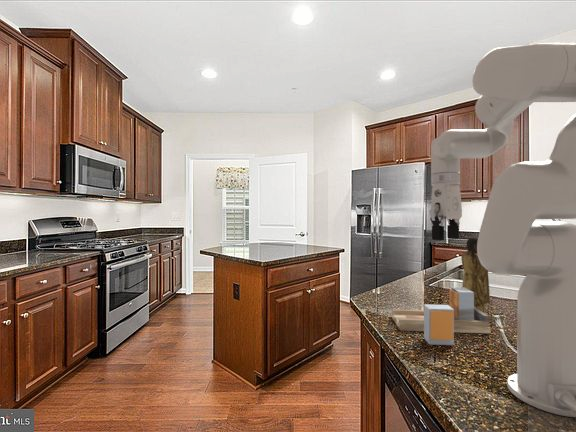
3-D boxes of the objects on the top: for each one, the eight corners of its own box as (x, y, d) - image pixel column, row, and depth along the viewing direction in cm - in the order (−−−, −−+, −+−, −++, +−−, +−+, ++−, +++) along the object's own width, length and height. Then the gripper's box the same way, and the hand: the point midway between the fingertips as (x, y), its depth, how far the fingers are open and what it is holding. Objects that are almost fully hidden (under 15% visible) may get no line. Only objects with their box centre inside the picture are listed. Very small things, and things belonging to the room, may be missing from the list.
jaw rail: (490, 333, 88) (490, 295, 88) (400, 330, 91) (400, 293, 91) (470, 319, 100) (470, 285, 100) (391, 316, 103) (391, 284, 103)
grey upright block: (429, 345, 81) (429, 309, 81) (424, 338, 85) (424, 304, 85) (454, 346, 80) (454, 310, 80) (447, 338, 85) (447, 304, 85)
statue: (493, 318, 100) (493, 238, 100) (460, 313, 105) (460, 237, 105) (493, 311, 108) (493, 236, 108) (462, 307, 113) (462, 235, 113)
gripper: (445, 176, 85) (445, 241, 85) (471, 181, 96) (471, 238, 96) (418, 179, 91) (418, 240, 91) (445, 183, 102) (446, 237, 102)
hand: (445, 239), depth 93 cm, fingers open, 9 cm apart
